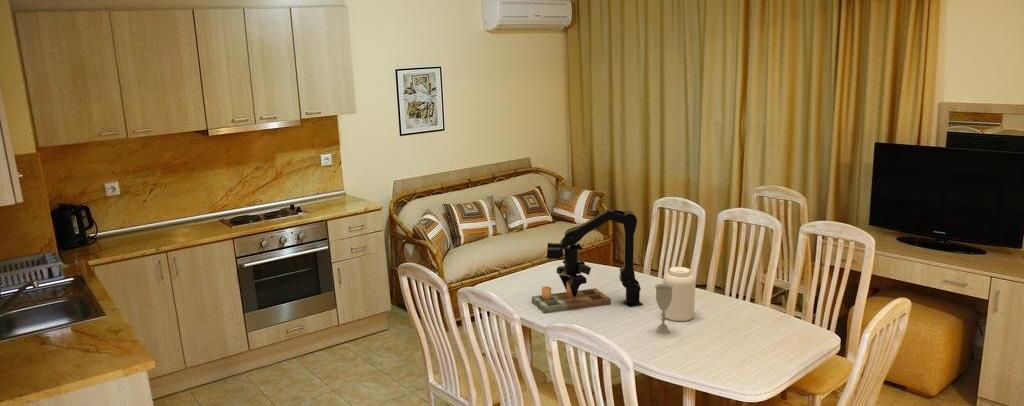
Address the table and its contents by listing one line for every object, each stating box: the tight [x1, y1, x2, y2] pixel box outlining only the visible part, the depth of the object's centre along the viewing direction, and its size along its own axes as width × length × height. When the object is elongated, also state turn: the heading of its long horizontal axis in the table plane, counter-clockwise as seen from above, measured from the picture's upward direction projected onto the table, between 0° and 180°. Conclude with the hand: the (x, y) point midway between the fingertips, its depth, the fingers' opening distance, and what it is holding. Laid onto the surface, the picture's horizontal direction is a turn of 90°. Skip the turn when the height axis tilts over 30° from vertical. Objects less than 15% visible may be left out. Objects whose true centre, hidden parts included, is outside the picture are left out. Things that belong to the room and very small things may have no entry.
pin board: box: [531, 288, 612, 314], centre depth 320 cm, size 15×30×2 cm, turn 109°
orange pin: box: [565, 281, 576, 299], centre depth 319 cm, size 4×4×7 cm
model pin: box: [541, 286, 552, 301], centre depth 319 cm, size 4×4×7 cm
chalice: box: [654, 283, 673, 335], centre depth 285 cm, size 7×7×18 cm
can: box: [662, 266, 696, 322], centre depth 301 cm, size 12×12×20 cm
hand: (571, 294), depth 319 cm, fingers open, 7 cm apart
